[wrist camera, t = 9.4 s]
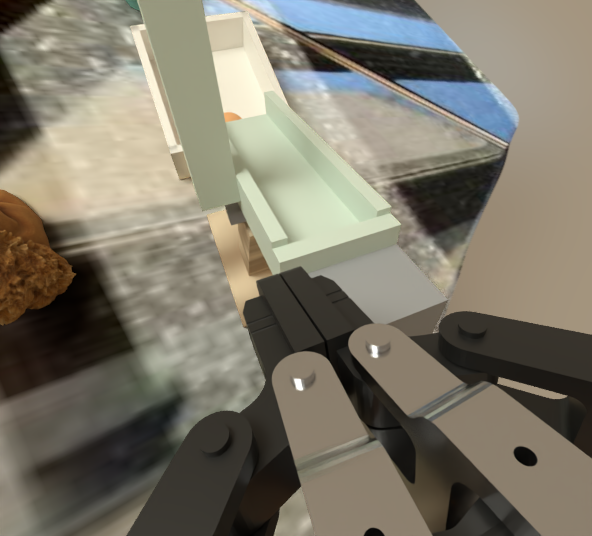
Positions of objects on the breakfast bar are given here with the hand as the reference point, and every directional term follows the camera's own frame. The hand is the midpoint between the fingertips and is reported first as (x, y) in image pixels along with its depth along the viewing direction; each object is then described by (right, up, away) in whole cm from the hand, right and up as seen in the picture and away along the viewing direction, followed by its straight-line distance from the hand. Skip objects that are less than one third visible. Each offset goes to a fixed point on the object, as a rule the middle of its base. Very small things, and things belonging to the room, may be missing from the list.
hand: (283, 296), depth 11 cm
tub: (-9, +20, +28) cm, 36 cm away
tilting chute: (-1, +4, +13) cm, 13 cm away
